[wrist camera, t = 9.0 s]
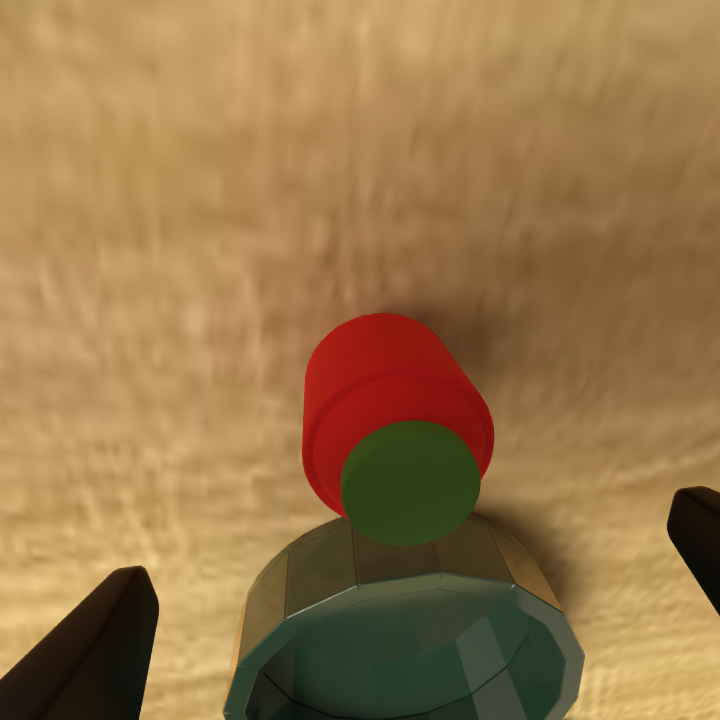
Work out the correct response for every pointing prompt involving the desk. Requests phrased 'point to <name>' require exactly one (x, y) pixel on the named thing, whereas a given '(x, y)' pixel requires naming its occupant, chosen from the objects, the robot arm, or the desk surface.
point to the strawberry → (393, 430)
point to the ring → (403, 632)
